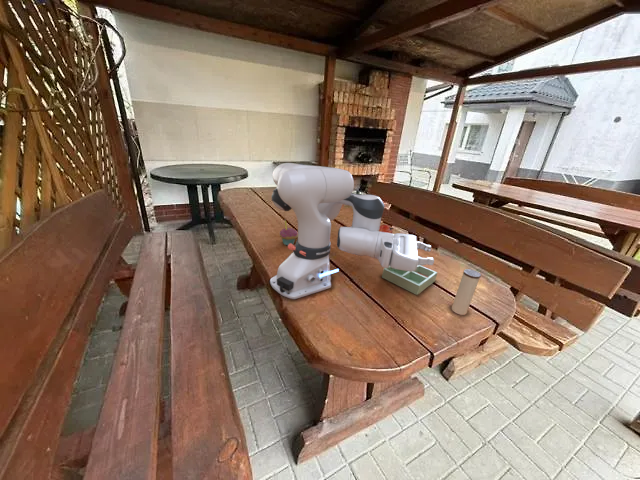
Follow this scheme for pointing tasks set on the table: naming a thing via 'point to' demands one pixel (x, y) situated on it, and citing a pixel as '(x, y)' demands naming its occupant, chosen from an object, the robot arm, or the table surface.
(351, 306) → the table surface
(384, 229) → the pomegranate
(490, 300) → the table surface
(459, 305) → the capped cylinder
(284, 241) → the cupcake
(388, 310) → the table surface
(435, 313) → the table surface
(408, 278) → the compartment tray
